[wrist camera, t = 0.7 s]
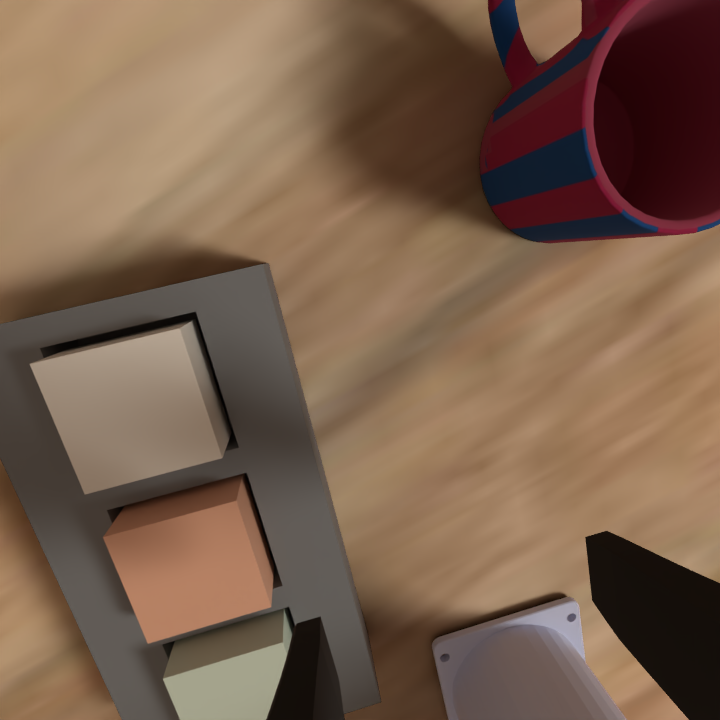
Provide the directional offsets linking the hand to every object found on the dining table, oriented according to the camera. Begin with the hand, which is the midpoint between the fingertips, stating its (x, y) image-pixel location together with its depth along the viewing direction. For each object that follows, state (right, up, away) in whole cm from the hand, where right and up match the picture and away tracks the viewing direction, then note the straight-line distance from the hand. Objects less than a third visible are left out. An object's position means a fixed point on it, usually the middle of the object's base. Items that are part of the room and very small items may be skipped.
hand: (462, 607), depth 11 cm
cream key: (-10, +5, +4) cm, 12 cm away
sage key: (-7, -6, +7) cm, 12 cm away
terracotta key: (-9, 0, +6) cm, 11 cm away
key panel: (-9, 0, +8) cm, 12 cm away
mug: (+5, +16, +7) cm, 18 cm away
